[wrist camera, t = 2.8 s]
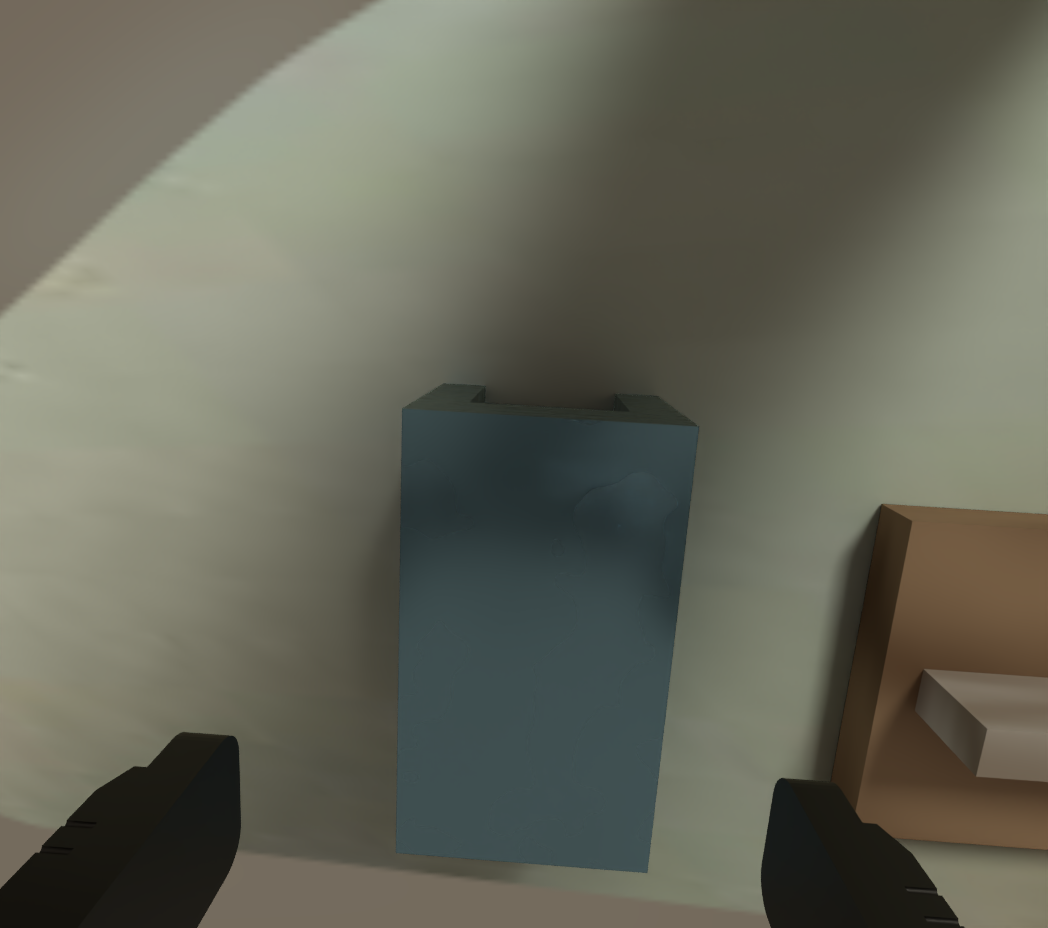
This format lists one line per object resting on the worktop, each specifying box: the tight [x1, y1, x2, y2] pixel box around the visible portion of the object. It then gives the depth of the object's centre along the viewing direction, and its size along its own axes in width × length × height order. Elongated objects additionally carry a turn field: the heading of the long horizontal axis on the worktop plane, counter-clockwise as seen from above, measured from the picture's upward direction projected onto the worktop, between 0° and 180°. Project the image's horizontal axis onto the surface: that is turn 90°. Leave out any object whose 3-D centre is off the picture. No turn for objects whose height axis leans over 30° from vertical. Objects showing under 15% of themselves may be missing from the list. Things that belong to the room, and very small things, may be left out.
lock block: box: [396, 383, 699, 873], centre depth 16 cm, size 10×6×5 cm, turn 177°
